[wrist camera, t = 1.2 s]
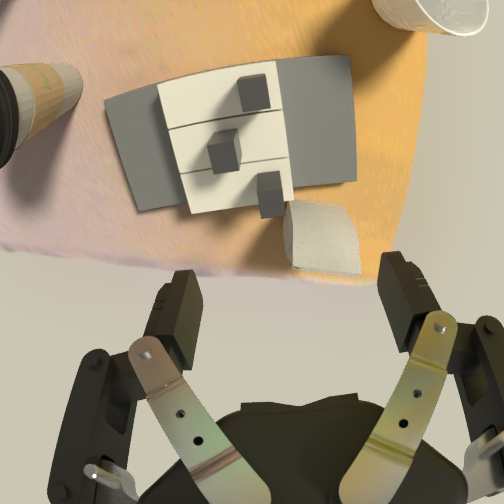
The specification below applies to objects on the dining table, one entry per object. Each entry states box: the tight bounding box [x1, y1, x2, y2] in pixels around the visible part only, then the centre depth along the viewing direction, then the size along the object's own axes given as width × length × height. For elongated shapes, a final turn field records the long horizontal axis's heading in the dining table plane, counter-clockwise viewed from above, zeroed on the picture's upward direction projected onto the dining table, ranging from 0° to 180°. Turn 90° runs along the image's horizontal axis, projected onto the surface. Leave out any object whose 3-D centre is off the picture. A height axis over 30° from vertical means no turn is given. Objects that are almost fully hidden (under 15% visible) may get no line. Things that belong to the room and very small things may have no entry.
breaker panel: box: [104, 55, 357, 219], centre depth 26 cm, size 13×24×9 cm, turn 99°
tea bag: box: [282, 198, 362, 277], centre depth 31 cm, size 4×7×10 cm, turn 82°
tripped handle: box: [207, 128, 242, 175], centre depth 24 cm, size 2×2×4 cm
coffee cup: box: [0, 63, 83, 169], centre depth 20 cm, size 9×9×15 cm
